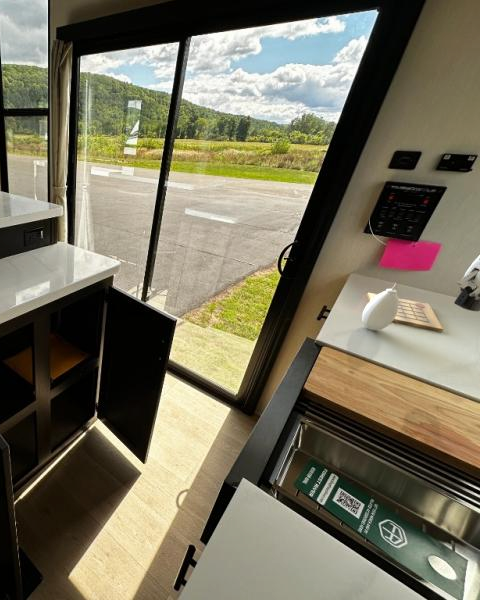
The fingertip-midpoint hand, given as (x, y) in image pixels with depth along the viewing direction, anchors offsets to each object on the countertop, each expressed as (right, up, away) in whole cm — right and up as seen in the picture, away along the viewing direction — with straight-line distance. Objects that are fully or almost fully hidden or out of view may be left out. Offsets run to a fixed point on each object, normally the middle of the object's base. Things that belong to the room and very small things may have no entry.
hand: (470, 305), depth 87 cm
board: (+11, -3, +30) cm, 32 cm away
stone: (0, -1, 0) cm, 1 cm away
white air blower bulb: (-7, -9, +22) cm, 25 cm away
